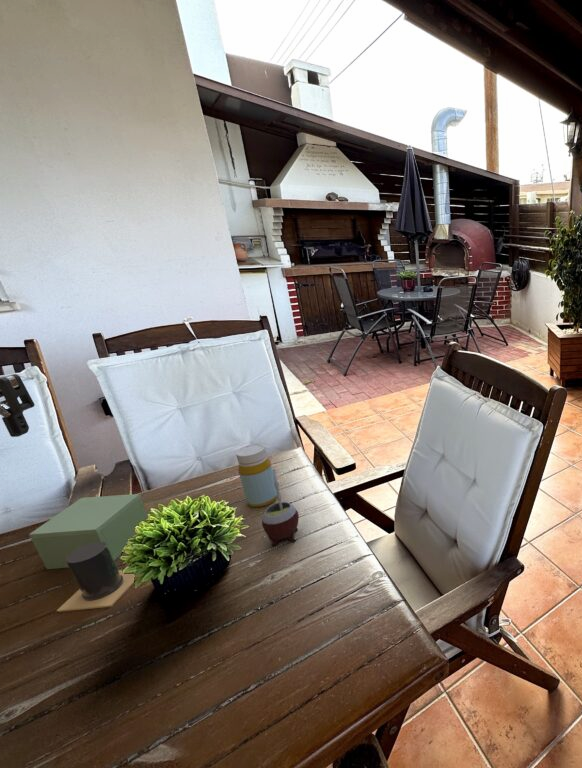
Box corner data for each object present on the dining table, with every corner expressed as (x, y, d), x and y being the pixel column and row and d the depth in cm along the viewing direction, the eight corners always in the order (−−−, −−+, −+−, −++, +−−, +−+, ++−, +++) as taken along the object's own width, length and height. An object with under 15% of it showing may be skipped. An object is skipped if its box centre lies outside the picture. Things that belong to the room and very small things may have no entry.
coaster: (57, 612, 73) (56, 610, 73) (98, 573, 81) (97, 572, 81) (111, 606, 74) (110, 605, 74) (146, 569, 82) (146, 567, 82)
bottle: (241, 506, 102) (226, 454, 96) (263, 490, 108) (250, 441, 103) (263, 510, 100) (250, 458, 95) (284, 494, 106) (273, 444, 101)
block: (46, 569, 82) (28, 534, 79) (96, 529, 93) (81, 497, 90) (111, 563, 84) (95, 529, 81) (152, 525, 95) (139, 493, 92)
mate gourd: (282, 553, 87) (267, 495, 81) (257, 542, 90) (242, 486, 84) (310, 531, 93) (299, 476, 88) (287, 522, 96) (274, 468, 91)
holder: (73, 602, 74) (54, 565, 71) (99, 577, 80) (83, 542, 77) (108, 599, 75) (90, 562, 72) (131, 575, 80) (116, 539, 77)
